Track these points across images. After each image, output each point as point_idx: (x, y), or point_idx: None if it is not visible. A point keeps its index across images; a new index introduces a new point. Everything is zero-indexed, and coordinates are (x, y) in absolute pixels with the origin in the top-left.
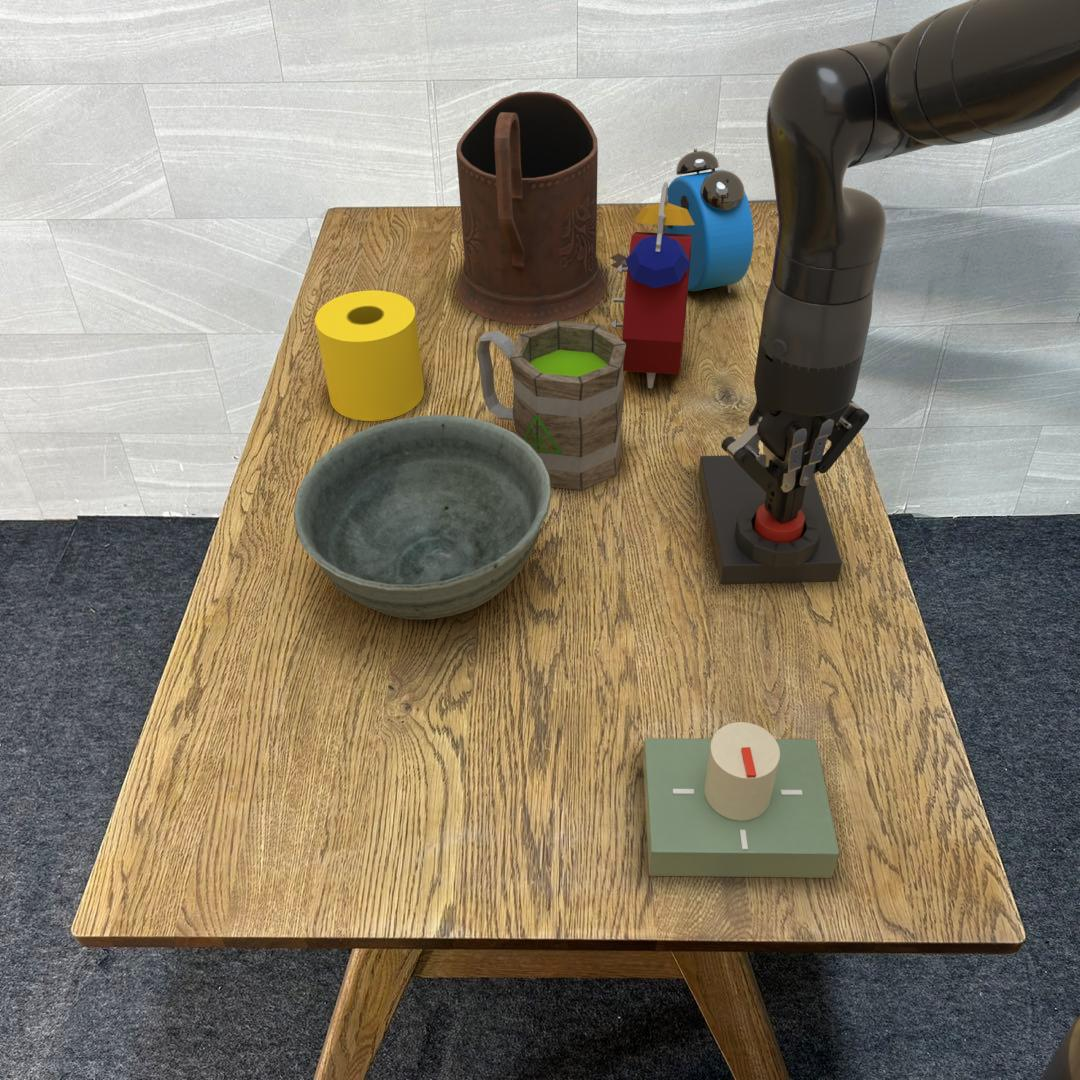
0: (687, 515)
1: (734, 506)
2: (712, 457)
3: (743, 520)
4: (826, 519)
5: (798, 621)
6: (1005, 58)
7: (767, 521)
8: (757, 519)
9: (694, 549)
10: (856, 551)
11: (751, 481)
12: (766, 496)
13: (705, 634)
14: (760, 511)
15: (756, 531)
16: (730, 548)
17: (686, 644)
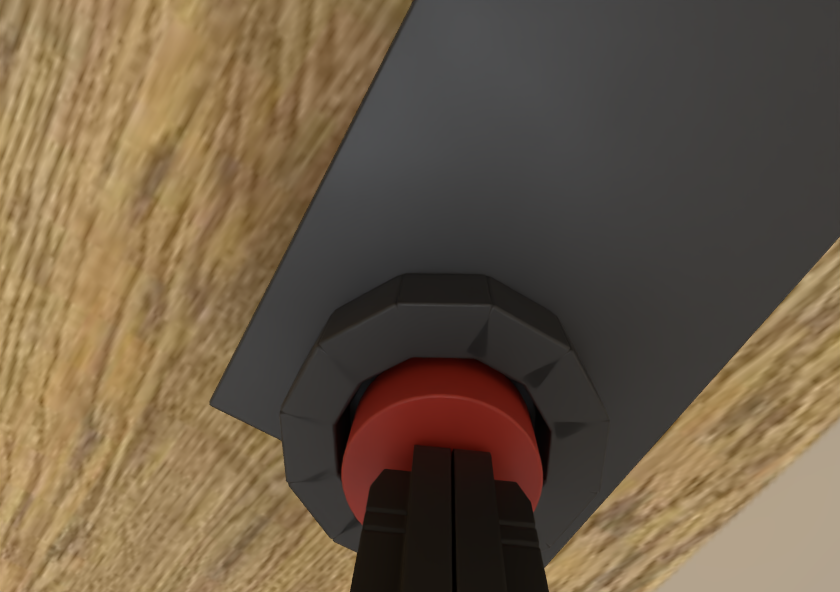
0: (324, 24)
1: (433, 186)
2: None
3: (332, 369)
4: (668, 422)
5: (344, 549)
6: None
7: (370, 481)
8: (347, 445)
9: (247, 198)
10: (671, 463)
11: (616, 85)
12: (362, 533)
13: (108, 470)
14: (386, 424)
15: (354, 417)
16: (274, 359)
17: (47, 470)
